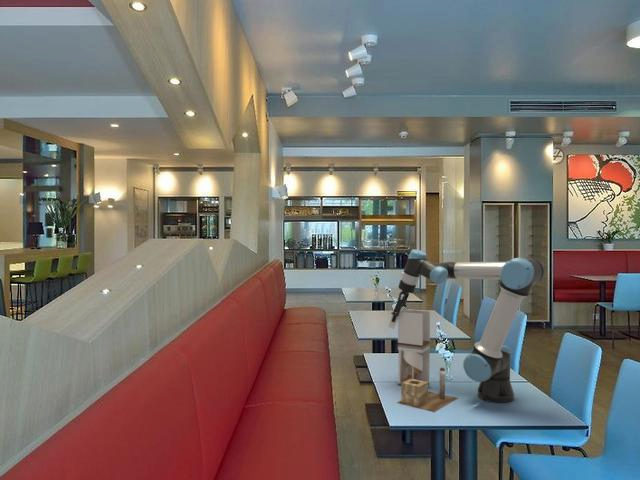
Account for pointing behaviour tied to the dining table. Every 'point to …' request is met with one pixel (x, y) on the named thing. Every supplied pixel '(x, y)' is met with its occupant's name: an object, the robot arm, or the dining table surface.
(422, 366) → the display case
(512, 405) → the dining table surface
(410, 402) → the tan wooden cube
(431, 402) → the board
